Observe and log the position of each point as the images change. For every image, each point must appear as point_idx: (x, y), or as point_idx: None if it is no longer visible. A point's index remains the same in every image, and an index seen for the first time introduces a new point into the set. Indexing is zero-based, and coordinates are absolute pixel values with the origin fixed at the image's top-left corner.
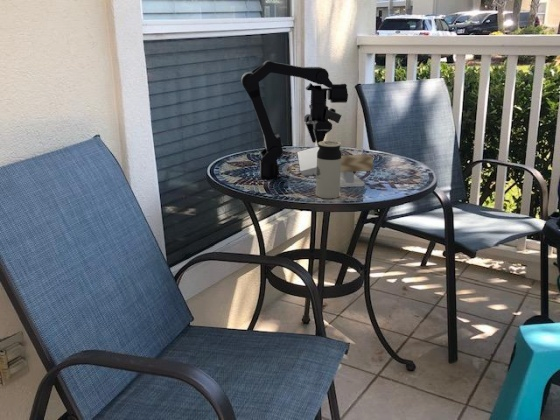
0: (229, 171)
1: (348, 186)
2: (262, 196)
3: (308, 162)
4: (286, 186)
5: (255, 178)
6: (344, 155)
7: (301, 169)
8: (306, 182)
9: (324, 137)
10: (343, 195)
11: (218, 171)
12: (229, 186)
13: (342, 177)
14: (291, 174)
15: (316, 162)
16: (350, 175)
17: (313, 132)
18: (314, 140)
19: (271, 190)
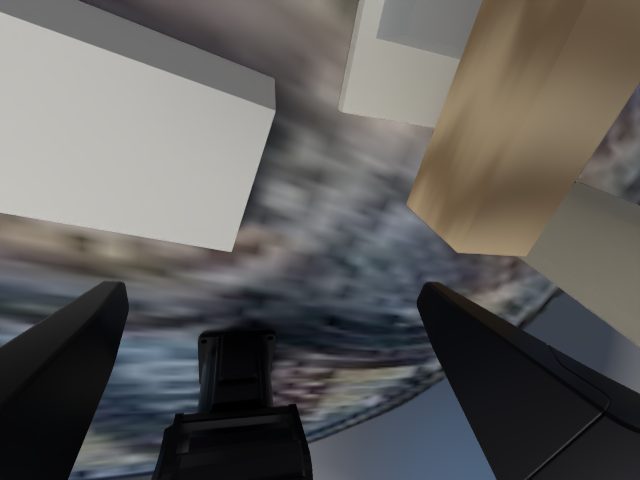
0: (131, 446)
1: None
2: (438, 373)
3: (20, 162)
4: (383, 317)
5: None
6: (575, 23)
7: (197, 241)
8: (365, 244)
9: (583, 365)
10: (588, 164)
11: (131, 466)
12: (320, 429)
13: (446, 54)
14: (206, 274)
15: (97, 125)
16: None
17: (26, 473)
18: (115, 312)
19: (402, 355)
